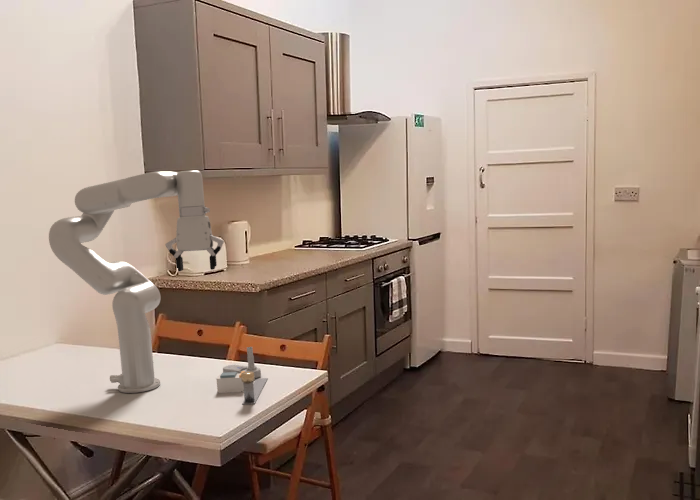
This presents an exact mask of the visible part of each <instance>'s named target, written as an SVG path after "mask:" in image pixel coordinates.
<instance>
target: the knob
mask: <svg viewBox="0 0 700 500" xmlns="http://www.w3.org/2000/svg"><path fill="white" fill-rule="evenodd" d="M241 380H242V382H243V387H244V392H243V398H244V400H245V402H246V403H251V402H254V401H255V399H254V386H253V384H254V382H255V378H254V372H243V373H241ZM244 400H243V401H244Z"/></svg>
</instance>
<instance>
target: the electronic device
mask: <svg viewBox="0 0 700 500" xmlns="http://www.w3.org/2000/svg"><path fill="white" fill-rule="evenodd" d="M246 353H247V363H248V364H247V365H241V364H240V365H239V364H229V365H225V366H223V367H222V373H226V372H237V374H240V373H241V372H242V371H245V372H254V379H258V378H260V377H261V376H262V373H261V368H259V367H257V365H255V357H254V349H253V346H249V347H246Z"/></svg>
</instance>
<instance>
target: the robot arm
mask: <svg viewBox="0 0 700 500" xmlns="http://www.w3.org/2000/svg"><path fill="white" fill-rule="evenodd" d="M203 181H204V179H203V174H202V172H201V171H200V170H181V171H163V170H162V171H151V172H146V173H141V174H136V175H132V176H130V177H125V178H121V179H116V180H114V181H113V180H112V181H110V182H104V183H99V184H95V185H91V186H87V187H84V188H82V189H80V190H79V191H77V193H76V194H75V197H74V204H75V207H76V208H77V210H79V212H80V213H82V214H81V215H80V216H79V215H78V216H70V217H69V216H68V217H64V218H60V219H59V220H57V221H55V222H54V223H53V224H52V225H51V227H50V229H49V232H48V244H49V246H50V248H51V251H52V252H53V254H54V256H55V257H56V258H57V259H58V260H59V261H60V262H61V263H63V264H64V265H65V266H66V267H68V268H69V269H71V270H72V271H73V272H74V273H75V274H76V275H78V277H79V278H80V279H82V280H83V281H84V282H85V283H86V284H88V285H89V286H90V287H91V288H92V289H93V290H94V291H96V293H98V294H100V295H102V296H103V295H104V296H108V295H112V294H114V296H113V300H112V305H111V306H112V310H113V311H112V312H113V315H114V319H115V322H116V327H117V336H118V345H119V346H118V347H119V355H120V356H119V357H120V366H121V373H120V374H118V375H117V374H111V375H109V381H110V383H112V384H113V383H114V384H115V383H116V384H117V383H118V386H117V390H118V391H119V392H121V393H125V394H136V393H137V394H138V393H142V392H148V391H152V390H154V389H156V388H158V387H159V386H160V385H161V380H160V379H159V378H157V377H155V367H154V359H153V345H152V336H151V335H152V333H151V327H150V323H149V320H148V318H147V315H146V314H147V313H149V312H152V311H154V310H155V309H156V308H158V306H159V305H160V303H161V298H162V297H161V293H160V290H159V288H158V287H157V286H156V284H155V283H153V282H152V281H151V280H150V279H149V278H148V277H146V276H145V275H144V274H143V273H142V272H141V271H140V270H138V269H137V267H135V266H133V265H132V264H130V263H129V262H126V261H124V260H123V261H120V260H118V261H117V260H116V261H112V262H109V261H107V260H105V259H103V257H101V256H100V255H98V254H97V253H96V252H95V250H93V249H91V248H89V247H87V246H85V245H84V243H90V242H92V241H94V240H95V239H97V238H98V237H99V236H100V234H101V233H102V232H103V230H104V228H105V227H106V225H107V224H108V222H109V220H110V219H111V218H112V216H113V214H114V212H115V211H117V210H121V209H124V208H128V207H130V206H131V205H132V204H134V203H138V202H143V201H147V200H152V199H159V198H168V197H169V198H170V197H176V196H177V201H178V202H177V203H178V213H179V216H178V217H177V220H176V231H175V233H176V234H175V235H176V237H174V238H173V239H171V240H169V241H168V242H166V243H165V247H166V249H167V250H168V252H169V253H170V254H171V255H172V256H173V257H174V259H175V264H176V265H175V268H176V269H177V271H178V272H183V270H184V261H183V259H184V258H183V256H182V255H183V253H184V252H195V251H196V252H197V251H207V253H209V254H210V255H209V267H210V269H209V270H211V271H212V270H215V269H216V267H217V254H219V252H220V251H221V250H222V247H223V246H224V243H225V240H224V239H222V238H220V237H217V236H214V235H213V231H212V225H211V221H210V218H209V215H207V213H210V212H211V207H206V205H205V195H204V194H205V193H204V182H203ZM214 242H215V243H217V246H216V247H215V248H214ZM174 244H176V249H177V250H175V249H174V248H173V245H174Z"/></svg>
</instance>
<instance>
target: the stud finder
mask: <svg viewBox="0 0 700 500" xmlns="http://www.w3.org/2000/svg"><path fill="white" fill-rule="evenodd" d="M243 372H245V371H242V372H241V373H243ZM241 373H240V374H237V372H226V373H223V372H221V373H220V374H219V375H218V376H217V377H216V378H215V379H216V389H217V393H218V394H219V393H220V394H221V393H222V394H223V393H241V391H242V393H244V392H243V391H244V387H243V382H242V380H241Z"/></svg>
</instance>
